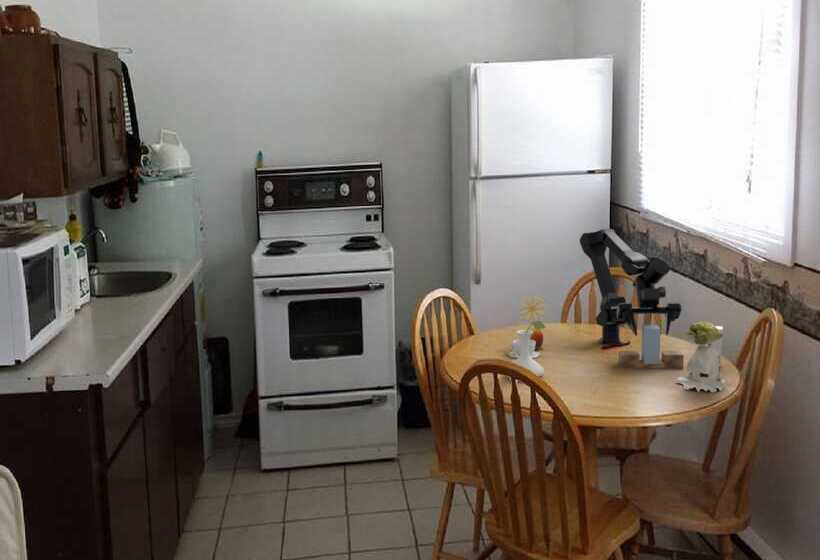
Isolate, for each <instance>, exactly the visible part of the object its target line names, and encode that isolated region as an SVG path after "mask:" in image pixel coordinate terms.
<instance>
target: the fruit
mask: <svg viewBox="0 0 820 560" xmlns="http://www.w3.org/2000/svg"><path fill="white" fill-rule="evenodd" d="M529 330H531V331H533V334H532V335H531V337H530V339H531V340H534V341H535V342H536V344H535V350H536V349H542V347H543V343H544V333H543V332H542V331H541V329H539V330H537V329H535V328H534V327H533V328H529ZM518 339H520V338H519V337H518Z"/></svg>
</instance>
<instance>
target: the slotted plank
mask: <svg viewBox="0 0 820 560" xmlns="http://www.w3.org/2000/svg"><path fill="white" fill-rule="evenodd" d="M640 356H641V355H640V354H639V352H638V350H618V363H617V364H618V365H619V367H620V369H628V368H629V369H650V368H651V369H657V368H658V369H661V368H662V369H663V368H664V369H668V368H669V369H670V368H671V369H679V368H680V369H683V368H684V357H685V355H684V354H683V352H682V351H681V350H661V355H660V356H661V357H660V362H659V364H644V363H643V361H642V360H641V357H640Z"/></svg>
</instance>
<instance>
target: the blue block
mask: <svg viewBox="0 0 820 560" xmlns="http://www.w3.org/2000/svg"><path fill="white" fill-rule="evenodd" d="M660 353H661V327H660V326H659V325H658V324H641V355H640V356H641V357H640V359H641V360H642V361H643V363H644V364H659V362H660V359H661V357H660V356H661V355H660Z"/></svg>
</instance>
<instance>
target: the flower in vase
mask: <svg viewBox="0 0 820 560" xmlns="http://www.w3.org/2000/svg"><path fill="white" fill-rule="evenodd" d="M546 305H547V304H546V303H545V300H544V299H543V298H541V297H539V296H536V295H531V296H527V297H526V298H523V299H521V302H520V304H519V306H518V309H517V311H518V314H519V315H520V316H519V317H520V318H521V319H522V320H524V321H528V322H529V323H530V325H529V326H527V325H526V324H524V323H522V322H520V321H518V323H519V324H520V325H522V326H524V327H526V328H527V329H519V330H516V332H515V333H516V334H517V335H518V339H519V338H520V342H521V354H520V357H519V358H515V360H514V361H513V362H514V363H516V364H518V365H520V366H523V367H525V368H527V369H529V370H531V371H532V372H534V373H535V374H537V375H538V376H540V377H542V376H543V375H544V374H545V370H544V367H543V366H542V365H541V364H540V363H538V361H535V360H534V358H531V357H530V355H529V340H530V337H531V335H532V334H533V331H531V330H529V329H531V327H532V326H533V328H535V329H537V330H543V329H546V328H547V327H546V326H545V324H544V323H543V322H542V321H540V320H541V319H542V318H544V315H545V314H546V311H547V309H548V307H547V306H546Z"/></svg>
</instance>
